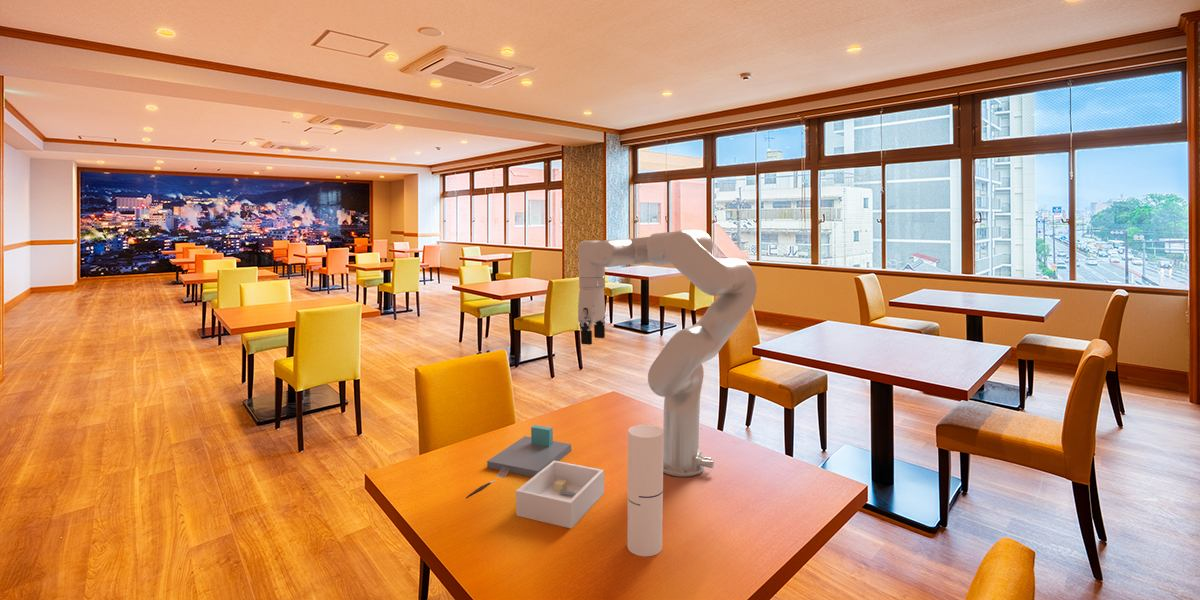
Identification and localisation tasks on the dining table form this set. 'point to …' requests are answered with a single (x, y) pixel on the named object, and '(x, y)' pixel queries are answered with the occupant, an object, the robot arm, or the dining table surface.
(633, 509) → the cylindrical container
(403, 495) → the dining table surface
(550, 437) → the lid
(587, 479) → the tub
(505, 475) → the fork
